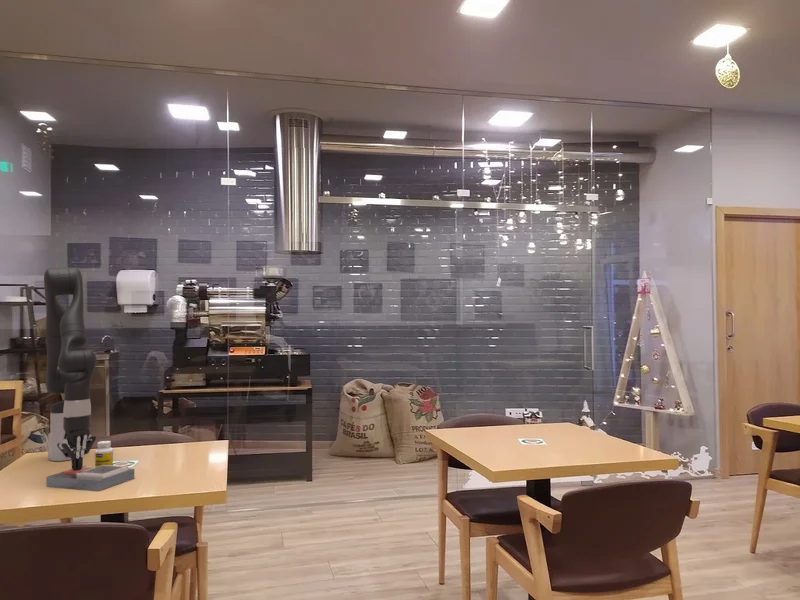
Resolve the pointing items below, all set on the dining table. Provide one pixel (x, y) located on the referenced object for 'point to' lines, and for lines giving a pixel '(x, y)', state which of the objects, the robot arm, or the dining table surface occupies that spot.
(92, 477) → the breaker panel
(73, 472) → the button
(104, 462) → the supplement bottle
